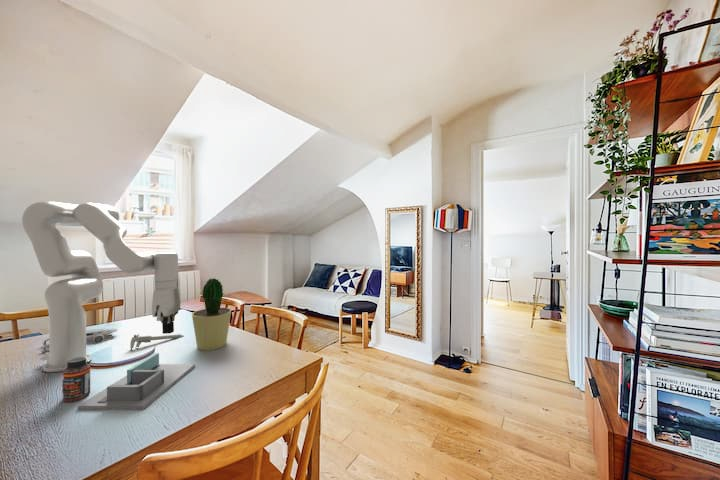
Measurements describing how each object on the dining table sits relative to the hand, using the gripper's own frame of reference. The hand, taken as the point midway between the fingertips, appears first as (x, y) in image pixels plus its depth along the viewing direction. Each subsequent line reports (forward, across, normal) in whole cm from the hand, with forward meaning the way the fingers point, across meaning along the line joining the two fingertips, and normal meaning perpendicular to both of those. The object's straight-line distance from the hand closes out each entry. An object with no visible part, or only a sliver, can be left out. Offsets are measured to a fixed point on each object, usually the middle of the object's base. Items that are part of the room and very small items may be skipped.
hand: (168, 332), depth 108 cm
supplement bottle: (+11, +24, -12) cm, 29 cm away
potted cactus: (+12, -16, +8) cm, 22 cm away
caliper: (+11, -20, -17) cm, 28 cm away
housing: (+11, +17, +3) cm, 20 cm away
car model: (+10, -19, -51) cm, 55 cm away
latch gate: (+10, +12, -1) cm, 15 cm away
